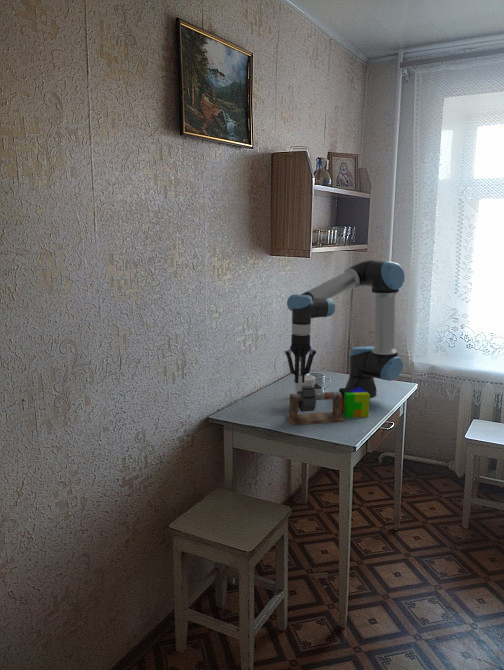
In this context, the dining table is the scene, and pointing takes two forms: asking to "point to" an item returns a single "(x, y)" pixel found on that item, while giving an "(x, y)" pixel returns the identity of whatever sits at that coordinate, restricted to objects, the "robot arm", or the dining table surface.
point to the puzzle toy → (355, 402)
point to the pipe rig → (316, 417)
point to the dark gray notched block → (307, 399)
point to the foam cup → (306, 381)
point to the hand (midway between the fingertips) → (299, 390)
